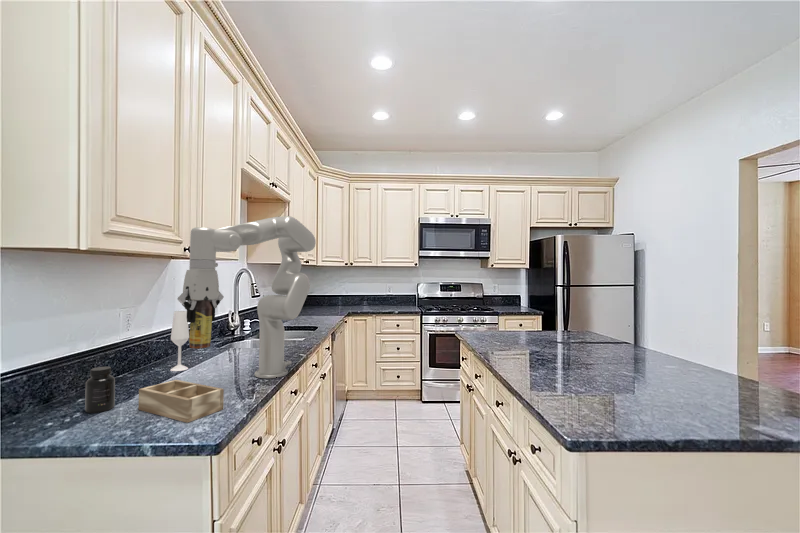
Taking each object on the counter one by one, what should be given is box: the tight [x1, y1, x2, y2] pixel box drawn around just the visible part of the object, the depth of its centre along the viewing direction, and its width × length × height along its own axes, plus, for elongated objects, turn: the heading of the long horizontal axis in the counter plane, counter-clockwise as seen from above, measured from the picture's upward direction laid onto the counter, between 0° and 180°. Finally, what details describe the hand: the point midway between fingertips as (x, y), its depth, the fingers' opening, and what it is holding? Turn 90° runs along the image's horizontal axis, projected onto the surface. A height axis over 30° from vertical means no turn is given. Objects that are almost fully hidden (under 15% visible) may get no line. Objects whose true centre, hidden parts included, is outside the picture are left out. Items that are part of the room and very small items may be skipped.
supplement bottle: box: [84, 366, 116, 414], centre depth 112 cm, size 7×7×12 cm
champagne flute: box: [169, 310, 190, 372], centre depth 159 cm, size 7×7×24 cm
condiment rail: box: [137, 379, 225, 424], centre depth 112 cm, size 11×22×6 cm, turn 65°
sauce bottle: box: [188, 287, 213, 350], centre depth 123 cm, size 6×6×20 cm
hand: (201, 320), depth 123 cm, fingers closed on sauce bottle, 6 cm apart
